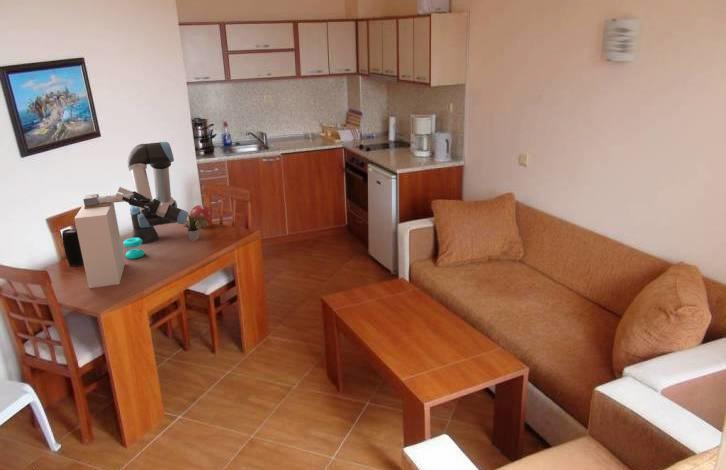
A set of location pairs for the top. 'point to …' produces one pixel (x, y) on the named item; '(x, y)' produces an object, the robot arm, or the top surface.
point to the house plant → (193, 227)
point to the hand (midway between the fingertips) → (117, 192)
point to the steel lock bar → (103, 199)
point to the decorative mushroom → (201, 211)
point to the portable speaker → (72, 247)
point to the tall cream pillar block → (100, 244)
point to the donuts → (134, 252)
